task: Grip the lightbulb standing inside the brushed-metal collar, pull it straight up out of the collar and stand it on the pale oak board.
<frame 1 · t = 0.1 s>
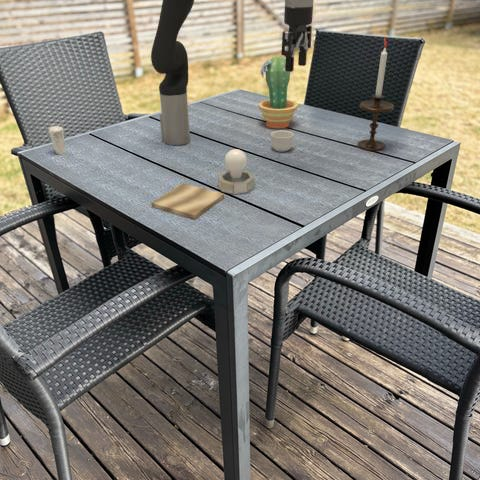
hand: (295, 68, 131), 29 cm above the table, fingers open, 8 cm apart
candlestick: (370, 147, 160), on the table
collar: (236, 186, 134), on the table
oak board: (188, 202, 126), on the table
teacup: (282, 148, 160), on the table
lightbulb: (236, 186, 134), resting in collar
potted cactus: (277, 125, 181), on the table
milkshake: (62, 152, 159), on the table
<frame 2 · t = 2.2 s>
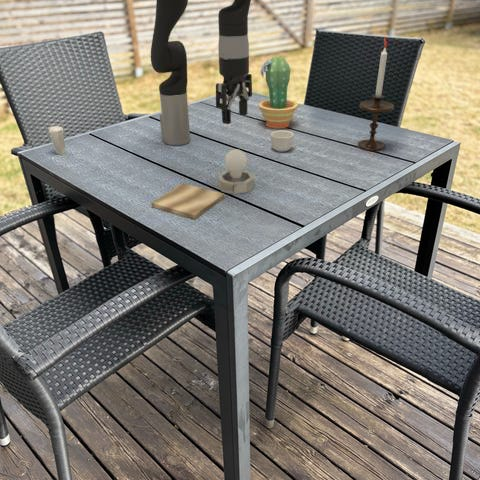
hand: (235, 118, 123), 20 cm above the table, fingers open, 8 cm apart
nothing on the table moved.
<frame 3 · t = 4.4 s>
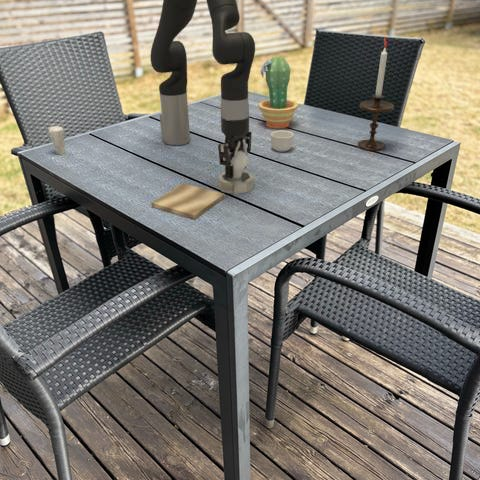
hand: (236, 172, 132), 4 cm above the table, fingers closed on lightbulb, 6 cm apart
lightbulb: (236, 186, 134), resting in collar, touching gripper
everything else where it was.
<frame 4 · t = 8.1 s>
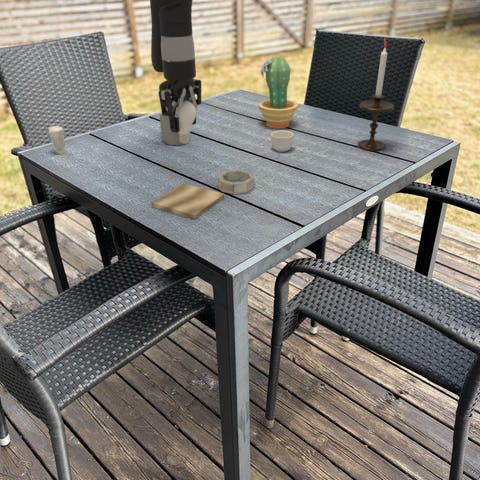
hand: (183, 127, 115), 21 cm above the table, fingers closed on lightbulb, 6 cm apart
lightbulb: (185, 144, 117), point 16 cm above the table, touching gripper
everything else where it was.
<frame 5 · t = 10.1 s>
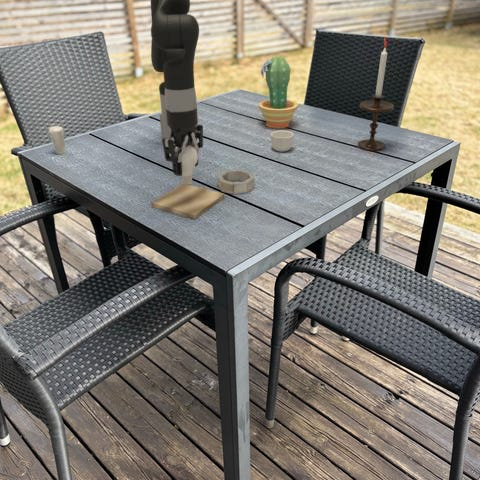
hand: (186, 170, 121), 9 cm above the table, fingers closed on lightbulb, 6 cm apart
lightbulb: (187, 185, 123), point 5 cm above the table, touching gripper
everything else where it was.
when the fingers open (6 cm above the table, at t = 11.7 s): lightbulb drops 1 cm, resting on oak board.
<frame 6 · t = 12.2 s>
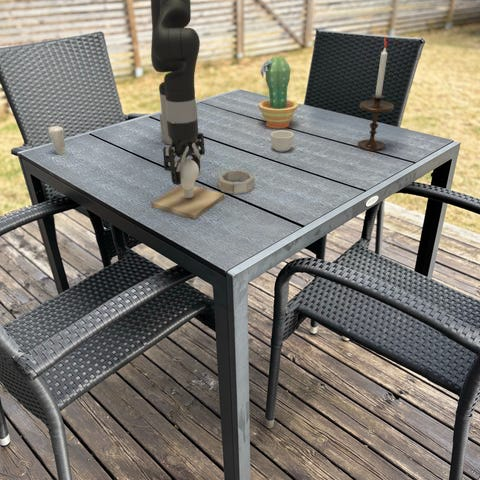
hand: (186, 178, 122), 7 cm above the table, fingers open, 8 cm apart
lightbulb: (188, 198, 125), point 1 cm above the table, touching oak board
everything else where it was.
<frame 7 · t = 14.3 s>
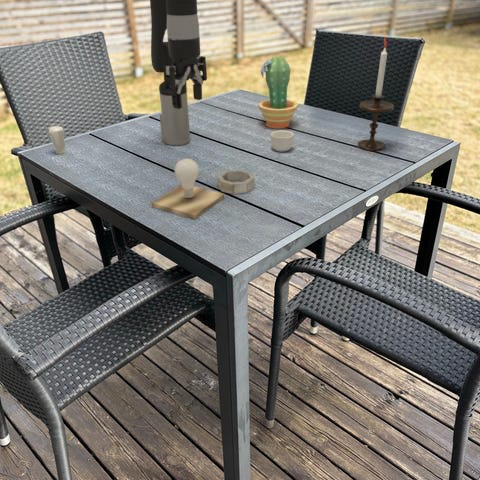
hand: (188, 103, 118), 25 cm above the table, fingers open, 8 cm apart
nothing on the table moved.
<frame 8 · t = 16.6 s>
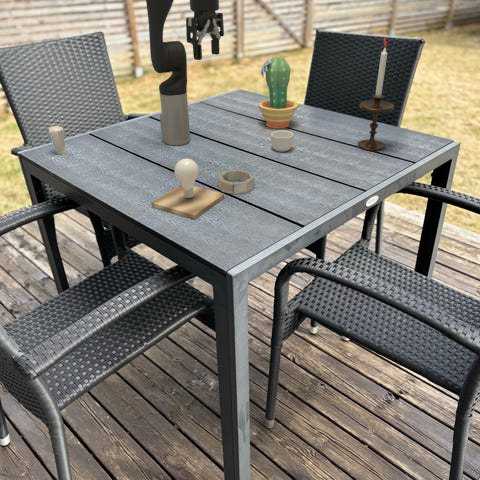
hand: (206, 56, 127), 33 cm above the table, fingers open, 8 cm apart
nothing on the table moved.
at the end: lightbulb inside the target area on the oak board (0.3 cm from its centre), point 1.0 cm above the oak board's base; the gripper is holding nothing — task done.
